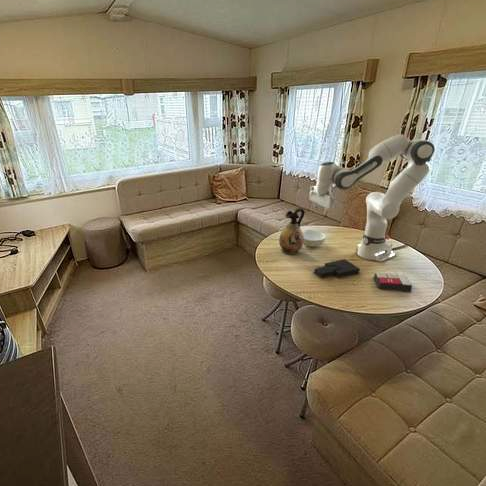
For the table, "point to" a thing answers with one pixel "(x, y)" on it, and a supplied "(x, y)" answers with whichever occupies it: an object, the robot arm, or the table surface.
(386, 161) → the robot arm
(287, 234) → the ceramic jug
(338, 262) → the pad
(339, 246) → the table surface
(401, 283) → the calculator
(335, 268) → the pad
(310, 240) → the cereal bowl
